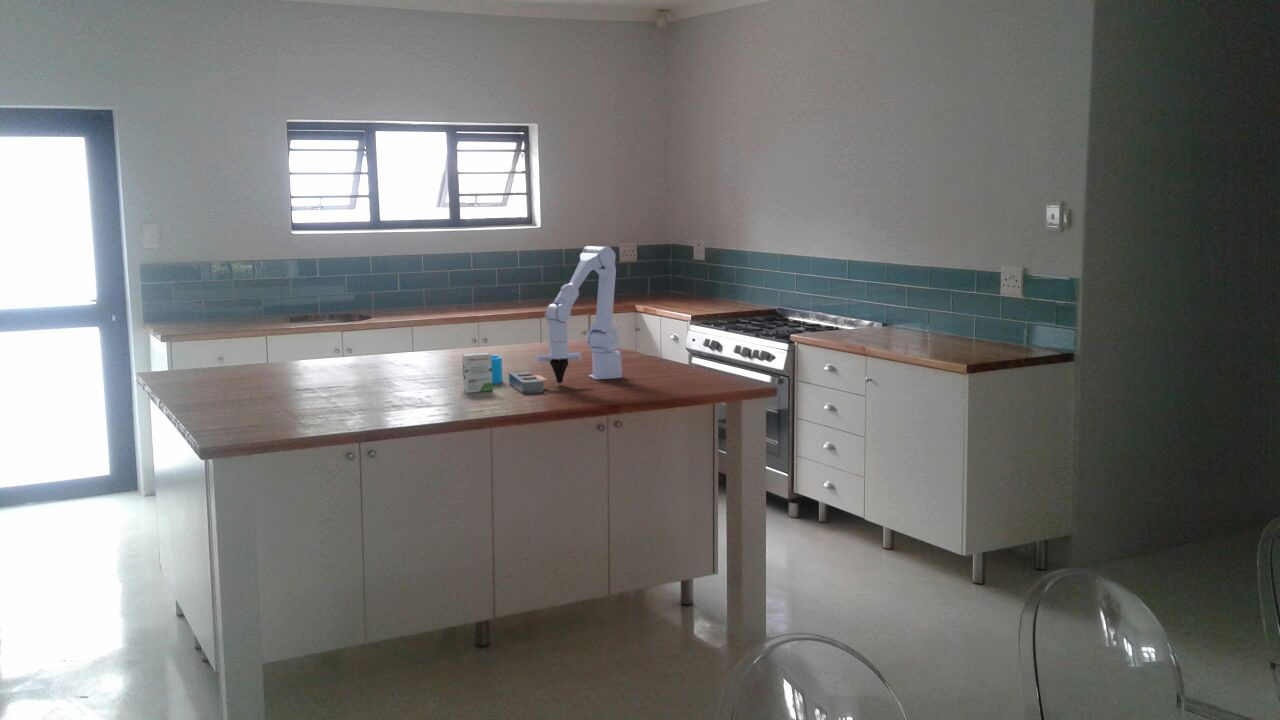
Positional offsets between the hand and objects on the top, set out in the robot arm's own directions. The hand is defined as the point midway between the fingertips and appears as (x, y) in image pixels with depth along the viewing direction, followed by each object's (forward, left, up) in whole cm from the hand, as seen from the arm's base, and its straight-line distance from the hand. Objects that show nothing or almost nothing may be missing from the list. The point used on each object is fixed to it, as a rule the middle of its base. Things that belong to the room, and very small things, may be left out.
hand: (559, 382), depth 366 cm
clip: (+9, 0, -1) cm, 9 cm away
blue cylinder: (+19, -18, -1) cm, 26 cm away
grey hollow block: (+11, 0, -1) cm, 11 cm away
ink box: (+26, -1, -1) cm, 27 cm away
